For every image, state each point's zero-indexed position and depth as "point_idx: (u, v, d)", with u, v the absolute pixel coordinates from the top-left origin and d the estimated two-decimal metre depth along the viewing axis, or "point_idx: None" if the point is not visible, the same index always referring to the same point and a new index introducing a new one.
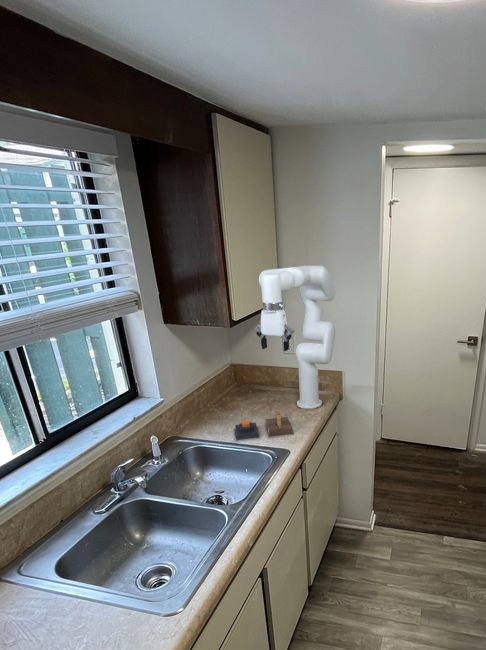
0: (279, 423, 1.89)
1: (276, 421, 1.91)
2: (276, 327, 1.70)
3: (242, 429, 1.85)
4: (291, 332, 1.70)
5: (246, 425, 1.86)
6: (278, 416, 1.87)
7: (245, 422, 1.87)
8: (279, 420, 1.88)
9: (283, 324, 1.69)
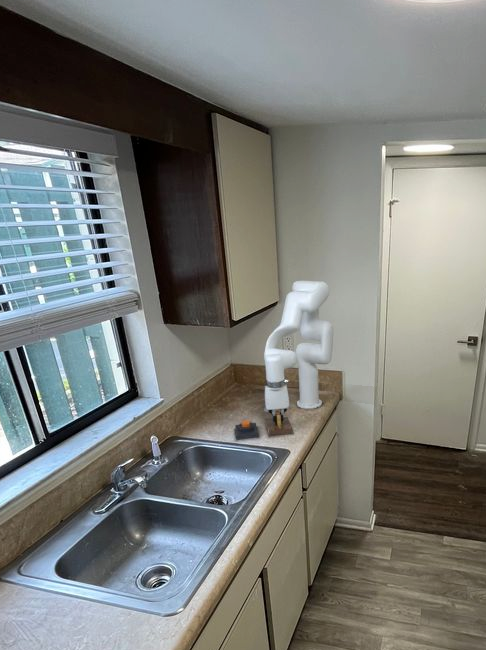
0: (279, 423, 1.89)
1: None
2: (283, 401, 1.85)
3: (242, 429, 1.85)
4: (289, 408, 1.89)
5: (246, 425, 1.86)
6: (278, 416, 1.87)
7: (245, 422, 1.87)
8: (279, 420, 1.88)
9: (288, 397, 1.87)
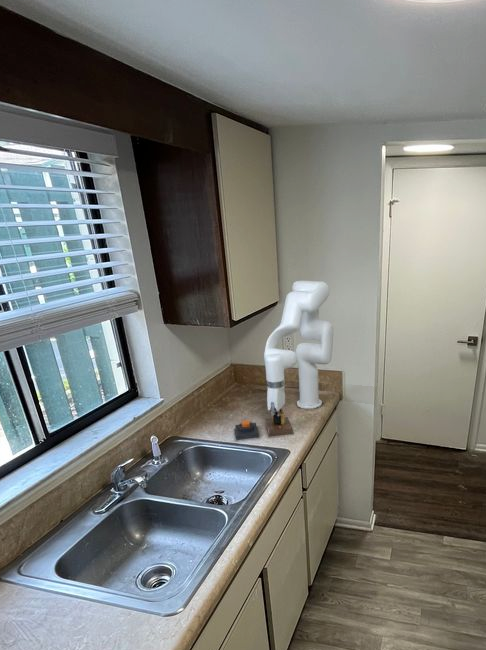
0: (284, 421, 1.91)
1: None
2: (283, 398, 1.89)
3: (242, 429, 1.85)
4: None
5: (246, 425, 1.86)
6: (283, 414, 1.89)
7: (245, 422, 1.87)
8: (284, 418, 1.90)
9: None
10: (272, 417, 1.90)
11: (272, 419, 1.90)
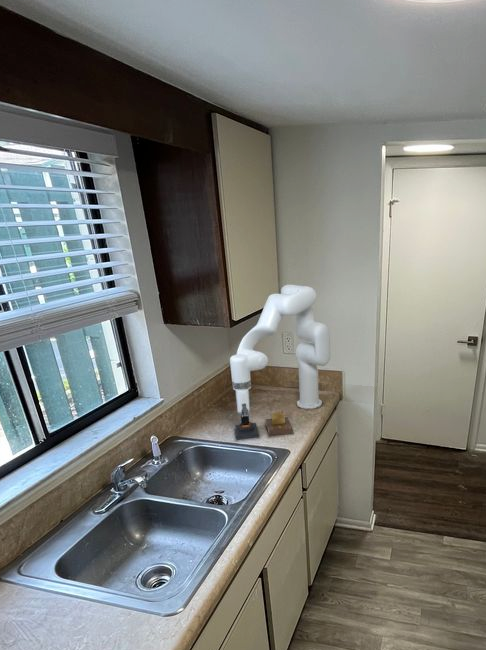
0: (284, 420, 1.92)
1: (277, 422, 1.90)
2: None
3: (242, 429, 1.85)
4: None
5: None
6: None
7: None
8: None
9: None
10: (273, 418, 1.89)
11: (273, 420, 1.89)
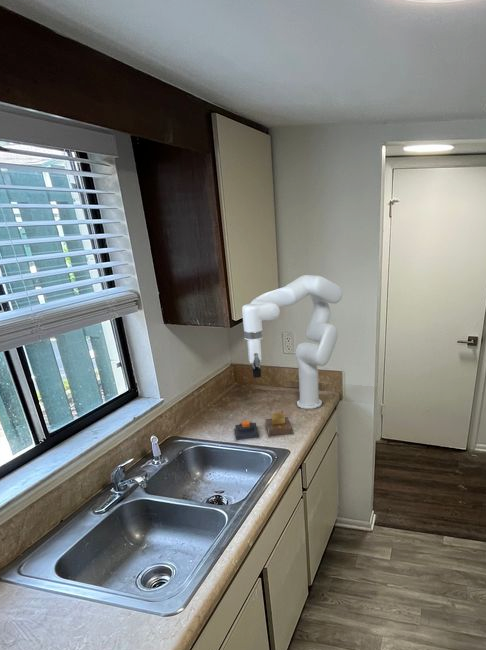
0: (284, 420, 1.92)
1: (277, 422, 1.90)
2: None
3: (242, 429, 1.85)
4: None
5: (246, 425, 1.86)
6: None
7: (245, 422, 1.87)
8: None
9: None
10: (273, 418, 1.89)
11: (273, 420, 1.89)
